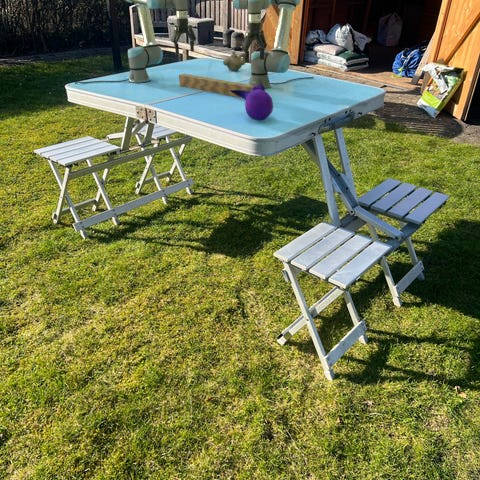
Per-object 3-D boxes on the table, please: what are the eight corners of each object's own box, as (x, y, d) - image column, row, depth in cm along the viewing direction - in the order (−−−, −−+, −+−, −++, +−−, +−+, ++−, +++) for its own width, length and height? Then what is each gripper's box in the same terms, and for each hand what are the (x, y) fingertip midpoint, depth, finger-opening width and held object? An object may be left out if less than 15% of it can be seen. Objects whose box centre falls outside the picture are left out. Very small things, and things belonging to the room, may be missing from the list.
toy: (255, 109, 260) (272, 127, 239) (226, 104, 252) (242, 122, 232) (262, 81, 252) (281, 97, 231) (233, 76, 244) (251, 92, 224)
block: (179, 85, 322) (178, 74, 318) (185, 84, 325) (184, 73, 322) (258, 101, 278) (258, 88, 274) (264, 99, 282) (264, 87, 278)
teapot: (226, 73, 360) (226, 53, 352) (220, 71, 368) (219, 51, 361) (249, 70, 369) (249, 50, 361) (242, 68, 377) (242, 49, 370)
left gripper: (171, 19, 288) (174, 54, 299) (199, 16, 304) (201, 50, 315) (164, 19, 293) (167, 54, 303) (192, 16, 308) (194, 49, 319)
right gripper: (245, 24, 250) (245, 64, 261) (273, 20, 266) (272, 59, 277) (235, 23, 255) (236, 63, 266) (263, 20, 270) (263, 57, 281)
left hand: (184, 52), depth 309 cm, fingers open, 13 cm apart
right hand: (254, 61), depth 271 cm, fingers open, 13 cm apart
